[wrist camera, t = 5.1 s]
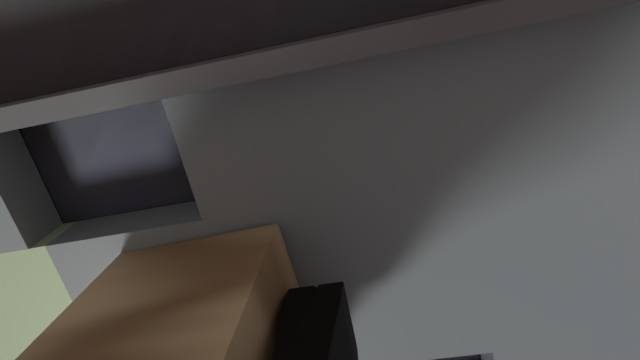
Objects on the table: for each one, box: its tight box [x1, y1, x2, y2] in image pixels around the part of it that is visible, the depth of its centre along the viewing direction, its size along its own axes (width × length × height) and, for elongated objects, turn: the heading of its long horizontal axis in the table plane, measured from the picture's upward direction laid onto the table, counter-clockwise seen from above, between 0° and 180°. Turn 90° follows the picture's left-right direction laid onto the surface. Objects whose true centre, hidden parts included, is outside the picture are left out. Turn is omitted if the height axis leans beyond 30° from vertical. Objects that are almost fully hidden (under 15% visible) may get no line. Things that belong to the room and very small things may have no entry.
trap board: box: [0, 0, 640, 360], centre depth 11 cm, size 22×13×4 cm, turn 102°
